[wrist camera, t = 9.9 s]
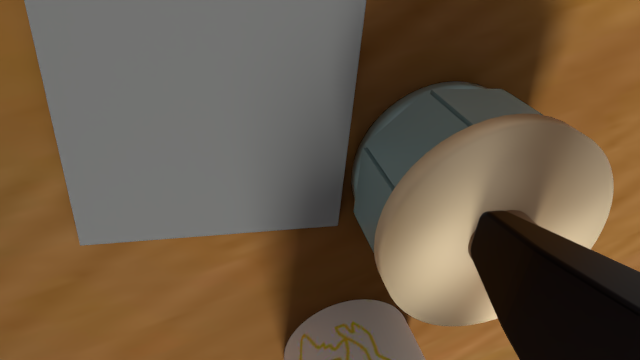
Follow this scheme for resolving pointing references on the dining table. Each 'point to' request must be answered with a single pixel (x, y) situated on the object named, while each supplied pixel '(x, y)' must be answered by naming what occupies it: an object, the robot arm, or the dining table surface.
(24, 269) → the dining table surface
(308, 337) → the white cylinder
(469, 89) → the grooved blue cylinder
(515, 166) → the lid
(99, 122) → the mat
